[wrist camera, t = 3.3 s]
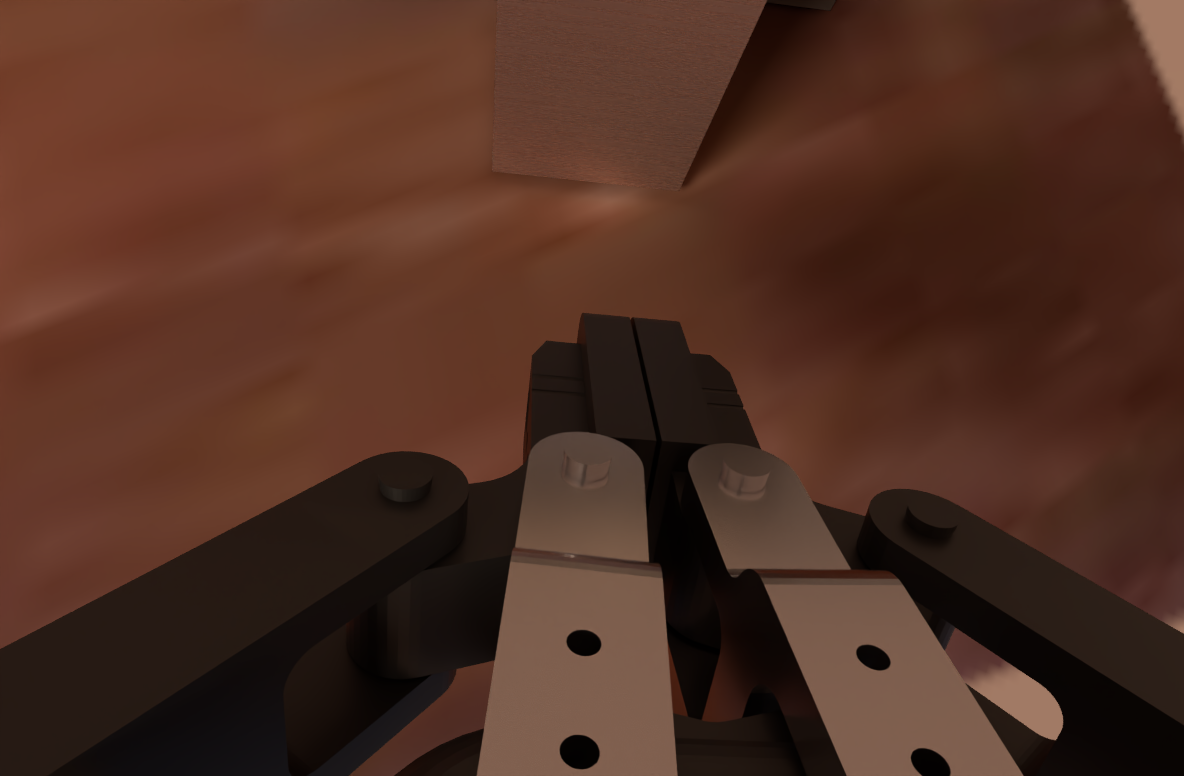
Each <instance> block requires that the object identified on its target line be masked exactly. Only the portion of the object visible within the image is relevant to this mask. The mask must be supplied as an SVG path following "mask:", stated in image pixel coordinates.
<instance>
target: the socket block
mask: <svg viewBox="0 0 1184 776" xmlns="http://www.w3.org/2000/svg"><path fill="white" fill-rule="evenodd" d="M835 1H836V0H767V2H768V3H775V4H783V5H791V6H798V7H806V8H813V9H821V10H828V11H830V10H831V8H832V6H833V5H834V3H835Z"/></svg>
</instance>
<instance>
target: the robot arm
mask: <svg viewBox="0 0 1184 776" xmlns="http://www.w3.org/2000/svg"><path fill="white" fill-rule="evenodd" d="M955 627H956V628H957V629H959V630H960V631H962V632H963V633H965V634H966V635H968V636H969V637H971V638H972V639H974V640H975V641H977V642H978V643H980V644H981V645H983V646H984V647H986V648H987V649H989V650H990V651H992V652H993V653H995V654H996V655H998V656H999V657H1001V658H1002V659H1004V660H1005V661H1007V662H1008V663H1010V664H1011V665H1013V666H1014V667H1016V668H1017V669H1019V670H1020V671H1022V672H1023V673H1025V674H1026V675H1028V676H1029V677H1031V678H1032V679H1034V680H1035V681H1037V682H1038V683H1040V684H1041V685H1042V686H1044V687H1045V688H1046V689H1047V690H1048V691H1049V692H1050V693H1051V694H1052V695H1053V696H1054V698H1055V699H1056V701H1057V702H1058V704H1059V706H1060V708H1061V711H1062V715H1063V728H1062V730H1061V733H1060V734H1059V736H1058V738H1057V739H1056V740H1051V739H1048V738H1045V737H1043V736H1040V735H1039V734H1037V733H1035V732H1034V731H1032V730H1031V729H1029V728H1028V727H1027V726H1025V725H1024V724H1023V723H1021V722H1019V721H1018V720H1017V719H1015V718H1014V717H1013V716H1011V715H1010V714H1008V713H1007V712H1005V711H1004V710H1003V709H1001V708H1000V707H998V706H997V705H996V704H994V703H993V702H991V701H990V700H988V699H987V698H986V697H984V696H983V695H981V694H980V693H979V692H977V691H976V690H974V689H973V688H971V687H970V686H969V685H967V684H966V683H965V682H964V681H963V679H962V678H961V676H960V674H959V673H958V671H957V670H956V668H955V667H954V665H953V663H952V662H951V660H950V659H949V657H948V656H947V654H946V652H945V649H946V647H947V645H948V642H949V640H950V638H951V636H952V633H953V631H954V629H955ZM494 660H495V663H494V669H493V676H492V682H491V688H490V695H489V701H488V708H487V714H486V720H485V727H484V729H481V730H478V731H475V732H471V733H468V734H465V735H462V736H460V737H457V738H455V739H453V740H451V741H448V742H446V743H444V744H441V745H439V746H438V747H436V748H434V749H432V750H431V751H429V752H427V753H426V754H424V755H422V756H420V757H419V758H417V759H416V760H415V761H413V762H412V763H410V764H409V765H408V766H406V767H405V768H404V769H402V770H401V771H400V772H398V773H397V774H396V775H394V776H1184V634H1183V633H1181V632H1180V631H1178V630H1176V629H1174V628H1173V627H1171V626H1169V625H1167V624H1165V623H1164V622H1162V621H1160V620H1158V619H1157V618H1155V617H1153V616H1151V615H1150V614H1148V613H1146V612H1144V611H1143V610H1141V609H1139V608H1137V607H1136V606H1134V605H1132V604H1130V603H1129V602H1127V601H1125V600H1123V599H1122V598H1120V597H1118V596H1116V595H1115V594H1113V593H1111V592H1109V591H1108V590H1106V589H1104V588H1102V587H1101V586H1099V585H1097V584H1095V583H1093V582H1092V581H1090V580H1088V579H1086V578H1085V577H1083V576H1081V575H1079V574H1078V573H1076V572H1074V571H1072V570H1071V569H1069V568H1067V567H1065V566H1064V565H1062V564H1060V563H1058V562H1057V561H1055V560H1053V559H1051V558H1050V557H1048V556H1046V555H1044V554H1043V553H1041V552H1039V551H1037V550H1036V549H1034V548H1032V547H1030V546H1029V545H1027V544H1025V543H1023V542H1021V541H1020V540H1018V539H1016V538H1014V537H1013V536H1011V535H1009V534H1007V533H1006V532H1004V531H1002V530H1000V529H999V528H997V527H995V526H993V525H992V524H990V523H988V522H986V521H985V520H983V519H981V518H979V517H978V516H976V515H974V514H972V513H971V512H969V511H967V510H965V509H964V508H962V507H960V506H958V505H956V504H954V503H953V502H951V501H949V500H946V499H944V498H942V497H939V496H936V495H933V494H930V493H926V492H922V491H918V490H911V489H892V490H887V491H884V492H881V493H879V494H877V495H876V496H875V497H874V498H873V499H872V500H871V502H870V505H869V508H868V511H867V513H866V516H862V515H858V514H855V513H851V512H847V511H844V510H840V509H836V508H833V507H829V506H826V505H822V504H819V503H816V502H814V501H812V500H811V498H810V497H809V495H808V493H807V491H806V490H805V488H804V486H803V484H802V483H801V481H800V479H799V477H798V476H797V474H796V473H795V472H794V470H793V469H792V468H791V467H790V466H789V465H788V464H786V463H785V462H784V461H783V460H781V459H779V458H778V457H776V456H774V455H772V454H770V453H768V452H766V451H763V450H761V448H760V446H759V443H758V441H757V438H756V436H755V433H754V431H753V428H752V426H751V423H750V421H749V418H748V416H747V414H746V411H745V410H743V404H742V401H741V399H740V396H739V394H737V389H736V386H735V384H734V381H733V379H732V377H731V374H730V372H729V371H728V370H727V369H725V368H724V367H723V366H722V365H721V364H720V363H718V362H717V361H716V360H715V359H714V358H713V357H712V356H710V355H703V354H691V353H690V351H689V348H688V345H687V342H686V339H685V336H684V333H683V330H682V327H681V325H680V323H679V322H677V321H667V320H656V319H645V318H634V317H632V318H631V320H630V318H629V317H622V316H611V315H600V314H589V313H582V315H581V318H580V324H579V330H578V338H577V344H576V343H565V342H554V341H546V342H545V343H544V344H543V345H542V346H541V347H540V348H539V349H538V350H537V351H536V352H535V353H534V354H533V355H532V363H531V373H530V383H529V393H528V402H527V412H526V422H525V432H524V446H523V465H522V466H521V467H520V468H518V469H517V470H516V471H514V472H512V473H511V474H508V475H506V476H504V477H502V478H498V479H495V480H491V481H486V482H480V483H473V484H468V481H467V478H466V476H465V475H464V474H463V472H462V471H461V470H460V469H459V468H458V467H457V466H455V465H454V464H452V463H451V462H449V461H447V460H445V459H443V458H440V457H437V456H434V455H431V454H426V453H421V452H404V451H401V452H390V453H385V454H380V455H376V456H373V457H370V458H368V459H366V460H363V461H361V462H359V463H357V464H355V465H353V466H351V467H350V468H348V469H346V470H344V471H342V472H340V473H338V474H336V475H334V476H332V477H330V478H328V479H326V480H325V481H323V482H321V483H319V484H317V485H315V486H313V487H311V488H309V489H307V490H305V491H303V492H301V493H300V494H298V495H296V496H294V497H292V498H290V499H288V500H286V501H284V502H282V503H280V504H278V505H276V506H275V507H273V508H271V509H269V510H267V511H265V512H263V513H261V514H259V515H257V516H255V517H253V518H252V519H250V520H248V521H246V522H244V523H242V524H240V525H238V526H236V527H234V528H232V529H230V530H228V531H227V532H225V533H223V534H221V535H219V536H217V537H215V538H213V539H211V540H209V541H207V542H205V543H203V544H202V545H200V546H198V547H196V548H194V549H192V550H190V551H188V552H186V553H184V554H182V555H180V556H178V557H177V558H175V559H173V560H171V561H169V562H167V563H165V564H163V565H161V566H159V567H157V568H155V569H153V570H152V571H150V572H148V573H146V574H144V575H142V576H140V577H138V578H136V579H134V580H132V581H130V582H128V583H127V584H125V585H123V586H121V587H119V588H117V589H115V590H113V591H111V592H109V593H107V594H105V595H103V596H102V597H100V598H98V599H96V600H94V601H92V602H90V603H88V604H86V605H84V606H82V607H80V608H78V609H77V610H75V611H73V612H71V613H69V614H67V615H65V616H63V617H61V618H59V619H57V620H55V621H53V622H52V623H50V624H48V625H46V626H44V627H42V628H40V629H38V630H36V631H34V632H32V633H30V634H28V635H27V636H25V637H23V638H21V639H19V640H17V641H15V642H13V643H11V644H9V645H7V646H5V647H4V648H2V649H0V776H349V775H350V774H351V773H352V772H353V771H355V770H356V769H357V768H358V767H359V766H360V765H361V764H363V763H364V762H365V761H366V760H367V759H368V758H370V757H371V756H372V755H373V754H374V753H375V752H377V751H378V750H379V749H380V748H381V747H382V746H383V745H385V744H386V743H387V742H388V741H389V740H390V739H392V738H393V737H394V736H395V735H396V734H397V733H399V732H400V731H401V730H402V729H403V728H404V727H405V726H407V725H408V724H409V723H410V722H411V721H412V720H414V719H415V718H416V717H417V716H418V715H419V714H421V713H422V712H423V711H424V710H425V709H426V708H427V707H429V706H430V705H431V704H432V703H433V702H434V701H436V700H437V699H438V698H439V697H440V696H441V695H442V694H443V693H444V692H445V691H446V690H447V689H448V688H449V686H450V685H451V684H452V682H453V680H454V677H455V675H456V669H458V668H463V667H467V666H471V665H476V664H480V663H485V662H489V661H494Z"/></svg>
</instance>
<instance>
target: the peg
mask: <svg viewBox="0 0 1184 776" xmlns="http://www.w3.org/2000/svg"><path fill="white" fill-rule="evenodd" d="M766 2H767V0H498V1H497V32H496V63H495V95H494V126H493V158H492V171H495V172H504V173H514V174H523V175H532V176H542V177H551V178H561V179H570V180H579V181H589V182H598V183H608V184H617V185H626V186H636V187H645V188H654V189H664V190H673V191H679V190H680V188H681V186H682V183H683V181H684V179H685V177H686V175H687V173H688V170H689V168H690V166H691V164H692V162H693V160H694V157H695V155H696V153H697V151H698V149H699V147H700V144H701V142H702V140H703V138H704V136H705V134H706V132H707V129H708V127H709V125H710V123H711V121H712V119H713V116H714V114H715V112H716V110H717V108H718V106H719V103H720V101H721V99H722V97H723V95H724V93H725V90H726V88H727V86H728V84H729V82H730V80H731V77H732V75H733V73H734V71H735V69H736V67H737V64H738V62H739V60H740V58H741V56H742V54H743V51H744V49H745V47H746V45H747V43H748V41H749V38H750V36H751V34H752V32H753V30H754V28H755V25H756V23H757V21H758V19H759V17H760V15H761V12H762V10H763V8H764V6H765V4H766Z"/></svg>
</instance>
